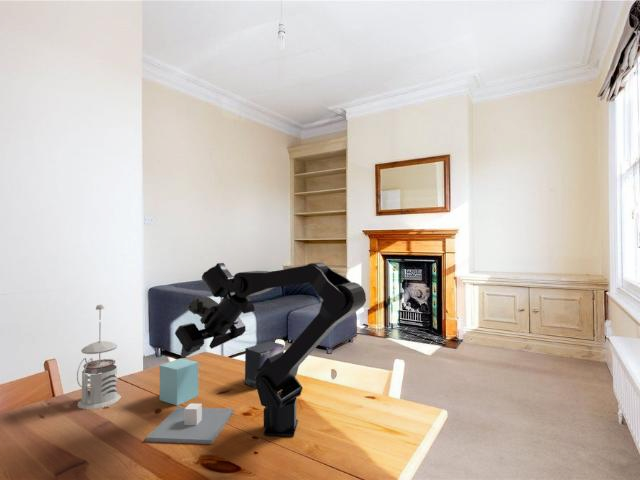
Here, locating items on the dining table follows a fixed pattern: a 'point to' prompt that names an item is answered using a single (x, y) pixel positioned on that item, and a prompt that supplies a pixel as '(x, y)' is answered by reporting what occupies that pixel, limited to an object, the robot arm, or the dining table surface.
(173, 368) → the pale blue cube block
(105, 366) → the french press
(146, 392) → the dining table surface
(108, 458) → the dining table surface
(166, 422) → the post board
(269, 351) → the small box
